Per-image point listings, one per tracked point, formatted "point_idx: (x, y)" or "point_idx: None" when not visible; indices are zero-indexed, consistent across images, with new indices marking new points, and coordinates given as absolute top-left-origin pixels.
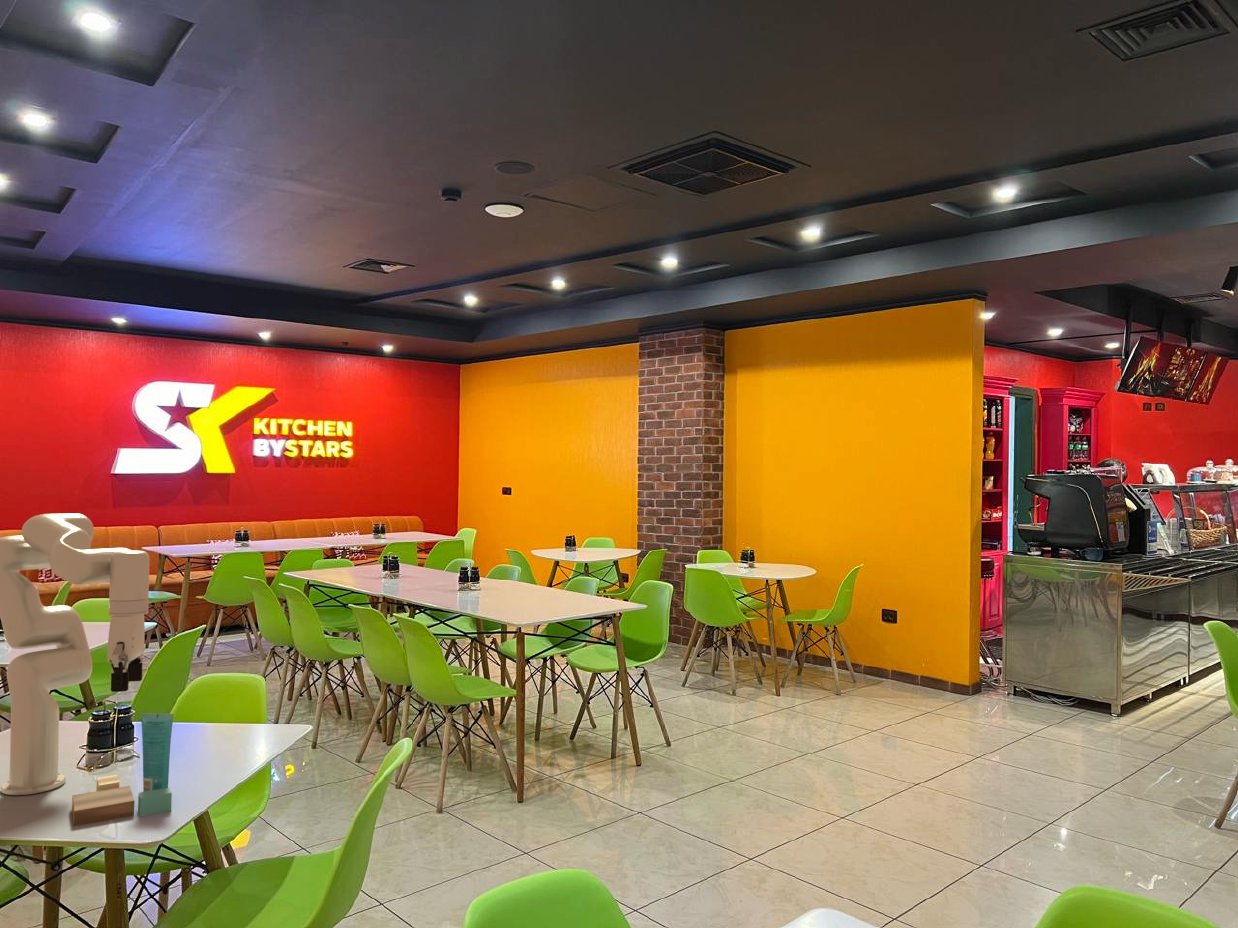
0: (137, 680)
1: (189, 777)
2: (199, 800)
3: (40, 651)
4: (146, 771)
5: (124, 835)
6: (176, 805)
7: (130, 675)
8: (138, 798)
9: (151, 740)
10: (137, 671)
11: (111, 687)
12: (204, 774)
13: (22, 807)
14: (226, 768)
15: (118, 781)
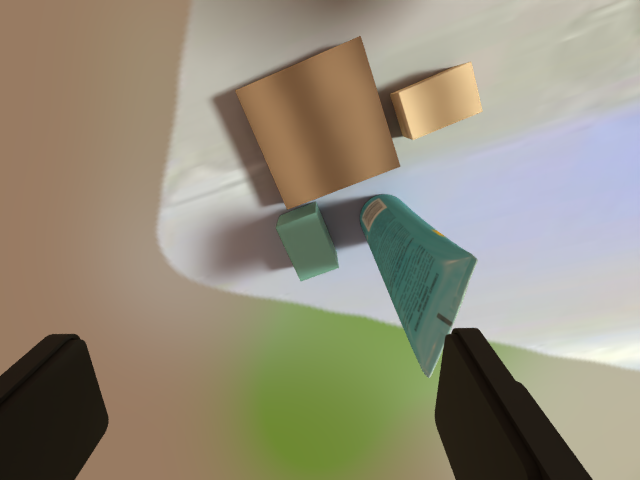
0: (438, 403)
1: (509, 249)
2: (348, 301)
3: None
4: (379, 221)
5: (176, 217)
6: None
7: (457, 396)
8: (314, 209)
9: (403, 264)
10: (466, 476)
11: (30, 355)
12: (518, 275)
13: None
14: (543, 308)
15: (418, 136)
